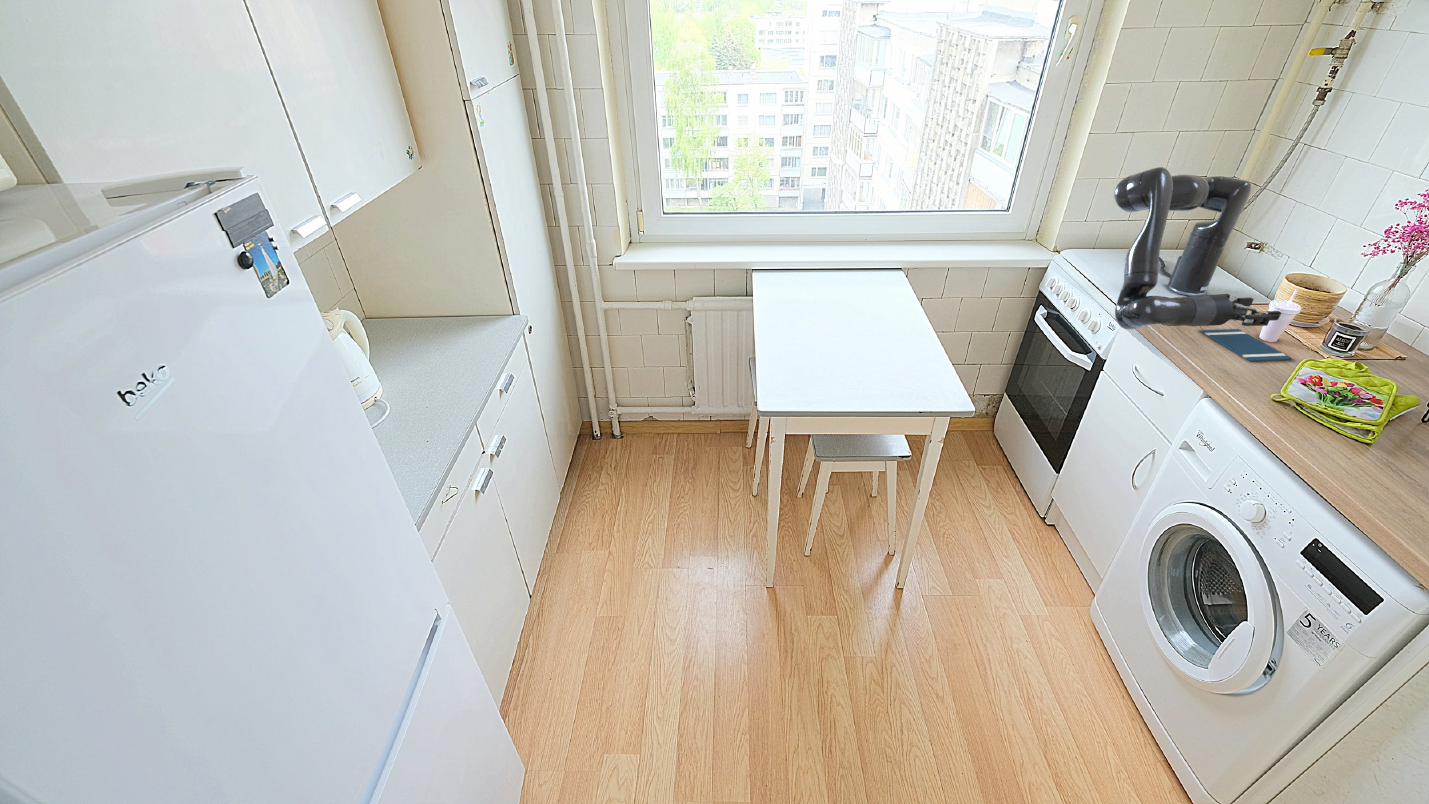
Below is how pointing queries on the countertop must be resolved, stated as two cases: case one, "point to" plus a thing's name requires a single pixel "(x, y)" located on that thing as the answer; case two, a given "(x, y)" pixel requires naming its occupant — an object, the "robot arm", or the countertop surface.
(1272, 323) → the smoothie
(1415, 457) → the countertop surface
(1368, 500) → the countertop surface
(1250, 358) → the tea towel
